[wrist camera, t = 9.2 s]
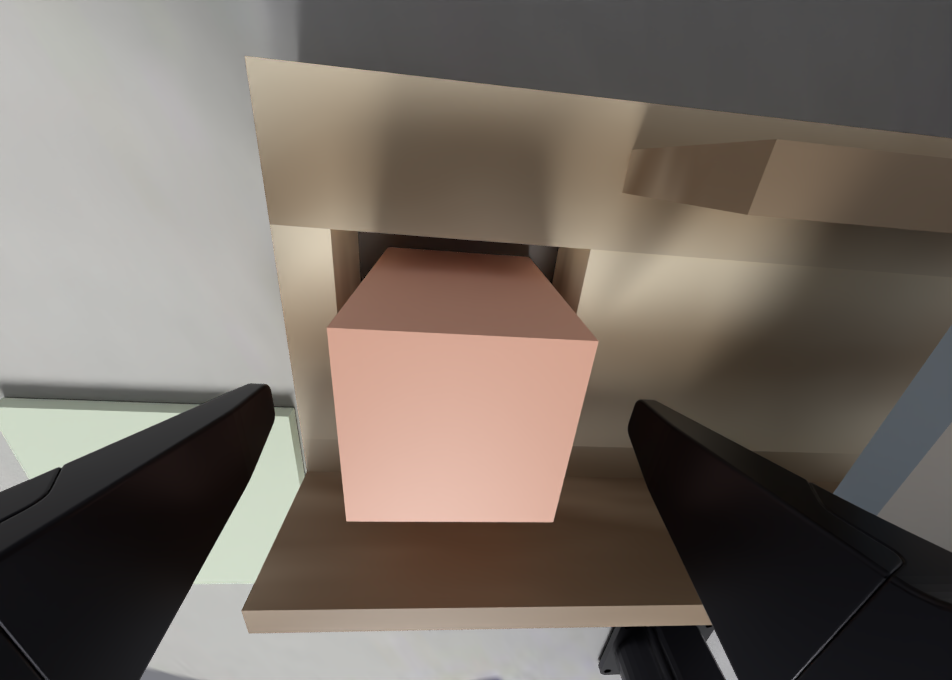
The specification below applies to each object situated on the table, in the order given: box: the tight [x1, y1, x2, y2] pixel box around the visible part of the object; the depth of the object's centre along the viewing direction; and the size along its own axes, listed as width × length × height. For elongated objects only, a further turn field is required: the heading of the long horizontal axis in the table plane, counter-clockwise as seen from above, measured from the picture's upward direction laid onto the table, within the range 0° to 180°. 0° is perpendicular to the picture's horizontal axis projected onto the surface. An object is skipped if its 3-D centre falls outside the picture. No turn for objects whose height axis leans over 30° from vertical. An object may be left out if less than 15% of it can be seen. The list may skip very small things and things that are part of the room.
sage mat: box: [0, 398, 305, 584], centre depth 17 cm, size 11×11×1 cm
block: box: [327, 247, 599, 522], centre depth 11 cm, size 5×5×7 cm
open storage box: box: [242, 56, 952, 633], centre depth 11 cm, size 14×24×8 cm, turn 85°
